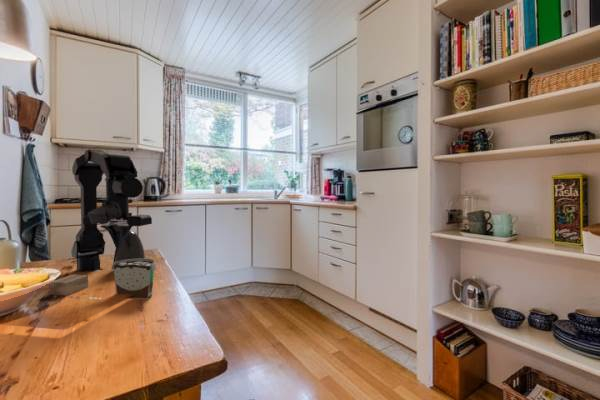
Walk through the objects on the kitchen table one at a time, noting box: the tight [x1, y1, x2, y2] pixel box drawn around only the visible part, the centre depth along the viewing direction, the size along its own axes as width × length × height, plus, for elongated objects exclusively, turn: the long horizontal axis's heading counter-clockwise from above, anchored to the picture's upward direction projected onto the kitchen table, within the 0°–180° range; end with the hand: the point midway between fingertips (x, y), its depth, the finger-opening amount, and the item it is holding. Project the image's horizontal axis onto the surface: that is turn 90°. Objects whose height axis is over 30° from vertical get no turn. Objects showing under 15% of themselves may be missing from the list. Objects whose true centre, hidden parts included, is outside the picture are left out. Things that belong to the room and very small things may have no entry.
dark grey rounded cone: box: [112, 230, 146, 263], centre depth 104 cm, size 10×10×15 cm
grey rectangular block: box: [49, 274, 89, 296], centre depth 83 cm, size 5×7×4 cm
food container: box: [110, 258, 158, 300], centre depth 83 cm, size 12×6×10 cm, turn 85°
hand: (118, 247), depth 87 cm, fingers closed
